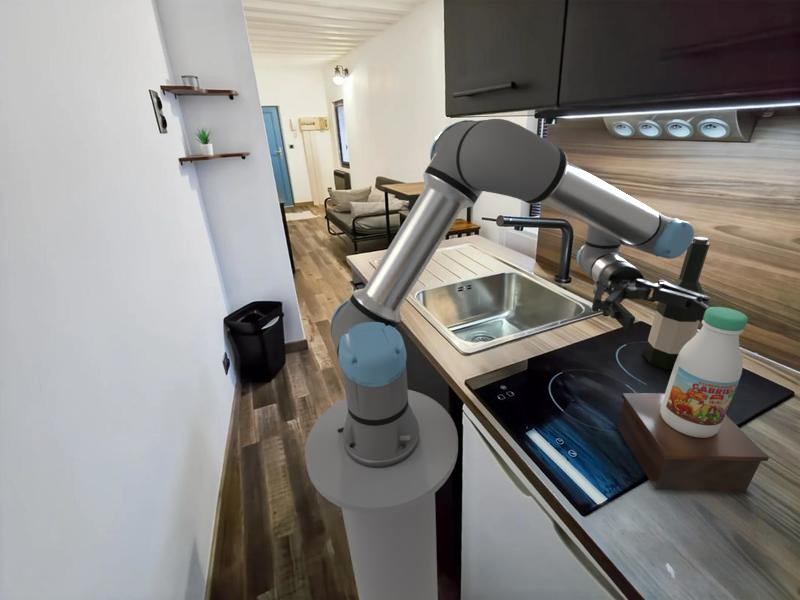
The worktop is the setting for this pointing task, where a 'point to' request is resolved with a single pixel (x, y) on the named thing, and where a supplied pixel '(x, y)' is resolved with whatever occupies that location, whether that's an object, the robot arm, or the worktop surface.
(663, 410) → the milk bottle
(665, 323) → the wine bottle
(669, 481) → the walnut box
